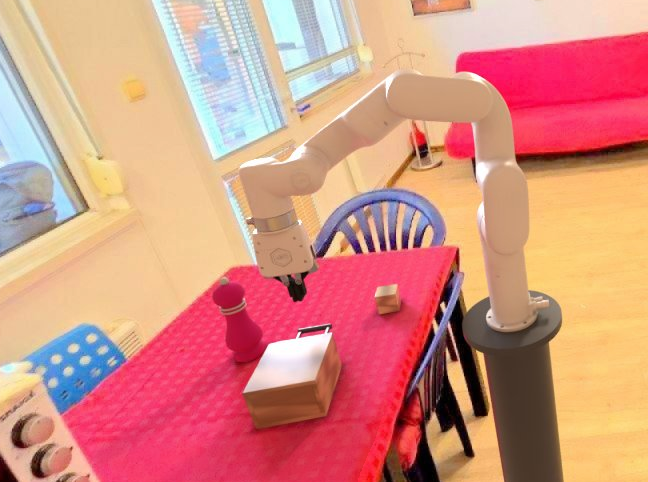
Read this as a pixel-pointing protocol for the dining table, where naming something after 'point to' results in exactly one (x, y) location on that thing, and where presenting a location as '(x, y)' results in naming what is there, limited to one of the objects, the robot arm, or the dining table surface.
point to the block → (388, 299)
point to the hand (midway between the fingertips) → (299, 298)
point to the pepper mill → (238, 321)
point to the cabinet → (293, 381)
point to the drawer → (312, 329)
